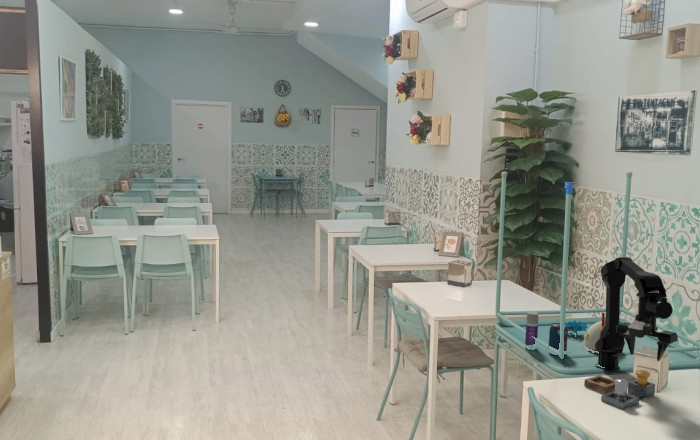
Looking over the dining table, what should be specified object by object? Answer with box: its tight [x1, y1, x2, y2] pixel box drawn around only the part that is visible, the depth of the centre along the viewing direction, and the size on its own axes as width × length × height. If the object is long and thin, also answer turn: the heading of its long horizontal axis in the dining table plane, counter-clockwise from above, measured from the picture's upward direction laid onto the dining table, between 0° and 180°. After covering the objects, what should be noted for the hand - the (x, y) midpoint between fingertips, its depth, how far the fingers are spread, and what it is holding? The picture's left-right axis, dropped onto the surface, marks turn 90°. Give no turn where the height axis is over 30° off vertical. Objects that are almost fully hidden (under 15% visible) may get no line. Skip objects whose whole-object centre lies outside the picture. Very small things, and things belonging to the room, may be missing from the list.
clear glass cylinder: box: [614, 377, 629, 402], centre depth 221 cm, size 4×4×8 cm
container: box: [524, 311, 539, 345], centre depth 272 cm, size 5×5×15 cm
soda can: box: [548, 322, 569, 351], centre depth 267 cm, size 7×7×12 cm
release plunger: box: [634, 369, 651, 386], centre depth 228 cm, size 5×5×5 cm
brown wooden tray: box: [583, 374, 615, 395], centre depth 234 cm, size 8×8×2 cm
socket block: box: [600, 378, 656, 410], centre depth 224 cm, size 8×19×4 cm, turn 125°
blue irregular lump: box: [565, 320, 588, 334], centre depth 290 cm, size 11×6×10 cm
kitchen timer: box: [583, 312, 606, 351], centre depth 273 cm, size 14×14×15 cm
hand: (645, 357), depth 226 cm, fingers open, 9 cm apart
